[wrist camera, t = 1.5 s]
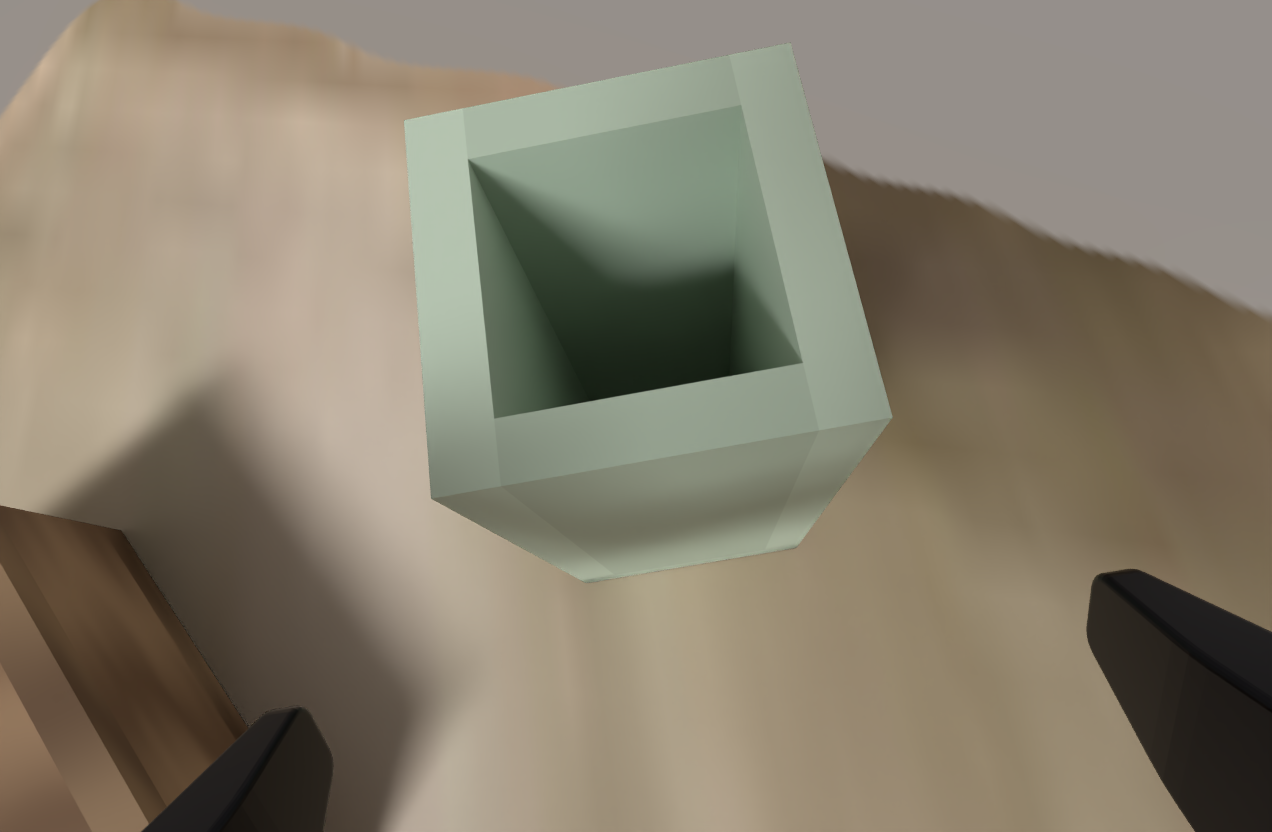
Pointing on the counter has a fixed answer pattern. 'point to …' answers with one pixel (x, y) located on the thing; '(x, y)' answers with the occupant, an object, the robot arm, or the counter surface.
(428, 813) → the counter surface
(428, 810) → the counter surface
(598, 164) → the sage crate
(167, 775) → the walnut crate
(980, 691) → the counter surface
